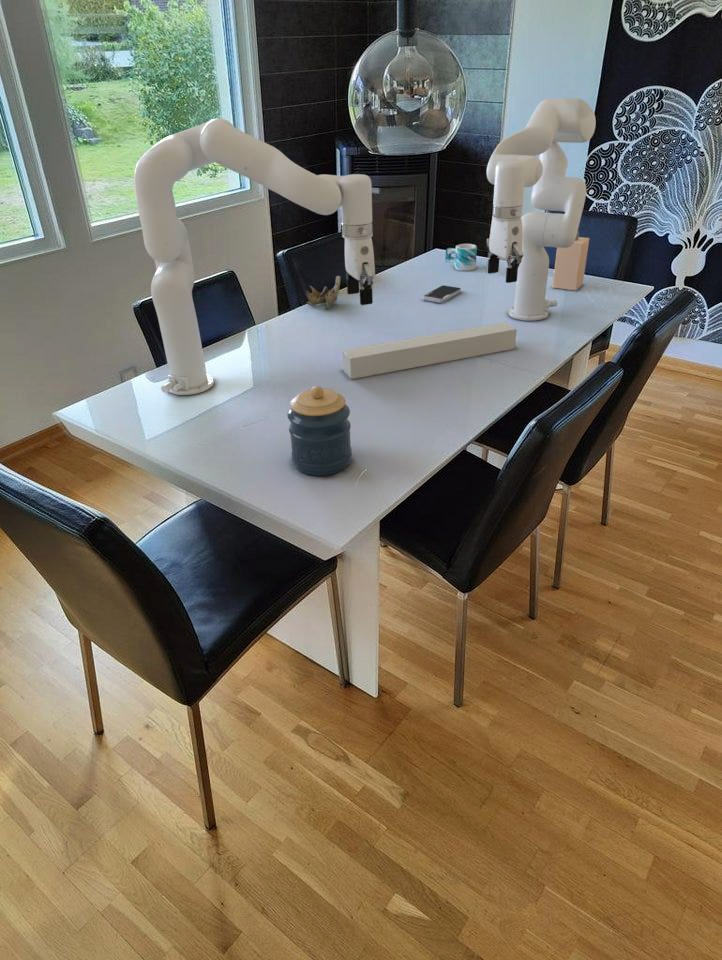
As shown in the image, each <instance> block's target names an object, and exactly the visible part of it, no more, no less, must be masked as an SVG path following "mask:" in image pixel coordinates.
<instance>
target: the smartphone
mask: <svg viewBox="0 0 722 960" xmlns="http://www.w3.org/2000/svg"><path fill="white" fill-rule="evenodd" d="M461 291H462V290H461V287H457V286H451V285H440V286H439V287H436V288H435V289H433V290H431V291H429V292H427V293H425V294H423V295H422V300H423V301H426V302H433V303H438V304H441V303H442V304H443V303H445V302H446V301H448V300H449V299H451V298H453V297H454V296H455V297H456V295H459V294H460V293H461Z"/></svg>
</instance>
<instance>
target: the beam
mask: <svg viewBox="0 0 722 960" xmlns="http://www.w3.org/2000/svg"><path fill="white" fill-rule="evenodd" d="M517 330H518V329H517V328H516V327H514V326H512V325H511V324H509V323H507V322H506V321H504V322H499V323H494V324H488V325H481V326H476V327H471V328H465V329H457V330H453V331H447V332H441V333H435V334H429V335H424V336H423V335H422V336H418V337H413V338H407V339H401V340H394V341H389V342H383V343H377V344H372V345H365V346H360V347H354V348H349V349H344V350H342V366H343V372H344V373H345V374H346V375H347V377H349V379H350V380H356V379H360V378H366V377H370V376H376V375H382V374H387V373H391V372H392V373H393V372H398V371H402V370H403V371H404V370H407V369H408V370H409V369H413V368H414V369H415V368H419V367H423V366H430V365H436V364H441V363H446V362H452V361H457V360H462V359H467V358H473V357H478V356H483V355H488V354H489V355H490V354H495V353H498V352H499V353H500V352H504V351H510V350H515V349H516V339H517Z"/></svg>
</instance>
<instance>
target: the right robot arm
mask: <svg viewBox="0 0 722 960" xmlns="http://www.w3.org/2000/svg"><path fill="white" fill-rule="evenodd" d="M596 122H597V120H596V115H595V111H594V110H593V109H592V107H591V106H590V104H589V103H588V102H586V101H585V100H583V99H581V98H579V97H577V98H576V97H568V98H567V97H565V98H564V97H563V98H562V97H561V98H559V97H558V98H556V97H554V98H553V97H551V98H546V99H543V100H541V101H540V102H539V103H538V104H537V106H536V107H535V109H534V110H533V113H532V114H531V116H530V118H529V120H528V121H527V123H526V125H525V127H524V128H522V129H520V130H518V131H517V132H514V133H513V134H511V135H509V136H507V137H505V138H504V139H502V140H501V141H500V142H499V143H498V144H497V145H496V147H495V149H494V150H493V152H492V153H491V155H490V158H489V160H488V163H487V166H486V179H487V181H488V182H489V183H490V184H491V185H494V186H493V200H492V201H493V202H492V215H491V224H490V230H489V238H486V251H487V274H489V275H490V274H497V273H499V268H500V258H501V259H504V260H506V264H507V267H506V271H505V283H507V284H511V283H515V290H514V291H515V292H514V301H513V302H514V303H513V304H514V305H513V306H512V307H510V308H509V310H508V313H507V314H508V315H509V317H511V318H512V319H515V320H518V321H524V322H535V321H542V320H544V319H546V318H548V317H549V310H548V309H549V308H555V307H557V306H558V301H557V300H555V299H554V300H550V299H546V293H547V285H548V276H549V268H550V257H549V254H548V253H547V251H546V248H545V247H547V248H556V249H557V248H568V247H570V246H571V245H572V244H573V243H574V241H575V238H576V235H577V231H579V227H580V223H581V219H582V214H583V211H584V208H585V207H584V206H585V202H586V198H587V197H586V196H587V186H586V182H585V181H584V179H582V178H580V177H572V176H566V173H567V168H568V166H569V165H568V163H569V162H568V158H567V155H566V154H565V151H564V150H563V149H562V147H561V146H560V145H559V143H569V144H570V143H573V144H574V143H575V144H576V143H577V144H582V143H583V144H584V143H588V142H589V141H591V139H592V137H593V136H594V134H595V130H596ZM531 187H532V190H531V195H530V203H531V205H532V207H533V208H534V209H537V210H541V211H530V212H527V213H525V214H523V215H522V212H523V203H524V202H523V201H524V191H525V188H531ZM544 211H550V212H544ZM554 212H555V213H554ZM556 212H564V213H556Z"/></svg>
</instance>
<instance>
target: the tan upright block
mask: <svg viewBox="0 0 722 960" xmlns="http://www.w3.org/2000/svg"><path fill="white" fill-rule="evenodd" d="M589 244H590V237H582V236H580V230H578V231H577V235H576V238H575V241H574V243H573V244H572V245H571V246H570V247H568V248H557V247H556V254H555V260H554V261H555V262H554V270H553V277H552V278H553V279H552V289H559V290H560V289H561V290H568V291H575V292H576V291H577V290H578V289H580V287H581V286H582V285H583V284H584V278H585V273H586V272H585V271H586V265H587V257H588V251H589Z"/></svg>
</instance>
